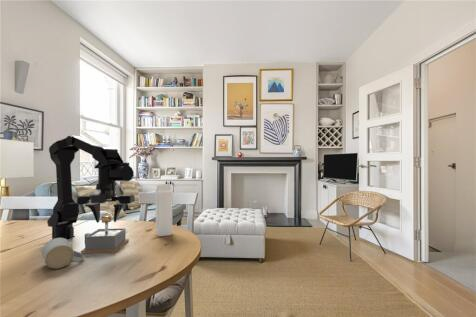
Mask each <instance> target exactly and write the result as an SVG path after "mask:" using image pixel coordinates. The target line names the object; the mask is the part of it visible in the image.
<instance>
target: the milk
mask: <svg viewBox="0 0 476 317" xmlns="http://www.w3.org/2000/svg"><path fill="white" fill-rule="evenodd" d="M155 234H156V236H157V237H159V238H160V237H165V236H166V237H167V236H172V235H173V190H172V184H171V183H168V184H167V183H163V184H157V185H156V190H155Z"/></svg>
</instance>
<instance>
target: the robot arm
mask: <svg viewBox="0 0 476 317" xmlns="http://www.w3.org/2000/svg"><path fill="white" fill-rule="evenodd" d="M80 150H81V151H83V152H85V153H87V154H90V155H91V157H92V159H94V160H95V161H96V162H98V163H96V165H94V169H98V170H97V171H98V172H97V179H98V182H97V183H96V186H95V189H94V190H93V191H92V192H91V193H90V194H82V195H79V196H78V197H77V198H76V201H75V200H74V198H73V187H72V186H73V185H72V183H73V182H72V170H71V169H72V167H71V164H72V163H73V161H74V160H75V159H76V158H75V156H76V154H77V152H79V151H80ZM118 151H119V150H118V149H117V148H116V147H111V146H104V145H100V144H98V143H95V142H92V141H90V140H88V139H86V138H84V137H82V136H80V135H73V134H71V135H68V136H66V137H65V138H63V139H59V140H57V141H55V142H54V143H52V144H51V145H50V146H49V148H48V153H49V156H50V157H49V158H50V159H51V161H52V162H53V163H54V165H55V172H56V174H55V175H56V191H57V200H56V203H55V204H54V206H53V208H52V214H51V216H49V218H48V220H47V221H46V222H47V227H50V228H51V240H52V239H55V238H65V239H67V240H68V241H70V240H72V239H73V238H75V227H74V226H73V224H74V223H75V224H77V221H78V218H79V215H80V208H79V207H80V205H84V206H85V207H88V208H89V209H90V210H91V212H92V214H93V218H94V219H95V222H96V223H99V222H100V220H101V216H100V215H101V204H105V203H106V202H108V203H109V202H112V203H113V202H115V204H113V207H114V208H113V209H114V213H113V222H114V223H116V222H117V221H118V218H119V216H120V213H121V211H122V210H123V208H124V206H125V205H128V204H129V205H130V204H132V203H134V202H135V194H133V193H131V194H130V193H128V194H127V193H125V194H121V195H119V196H117V192H116V186H118V183H117V182H130V181H131V180H133V177H134V169H133V167H132V166H130V162H125V161H124V160H123V159H122V157H121V155H120V153H119V152H118Z"/></svg>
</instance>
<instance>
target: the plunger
mask: <svg viewBox="0 0 476 317" xmlns="http://www.w3.org/2000/svg"><path fill="white" fill-rule="evenodd" d="M111 222H112V215H101V223H103V224H104V229H105V231H99V232H97V233H96V234H94V235H92V236H114V235H116V234H117V233H118V232H120V231H121V230H108V229H109V223H111Z"/></svg>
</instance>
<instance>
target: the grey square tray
mask: <svg viewBox="0 0 476 317" xmlns="http://www.w3.org/2000/svg"><path fill="white" fill-rule="evenodd" d="M108 230H121V231H120V232H118V233H117V234H116V235H114V236H92V235H94V234H96V233H97V232H99V231H105V228H98V229H97V230H95V231H93V232H90V233H89V232H88V233H84V248H83V249H81V250H80V253H82V254H83V255H84V254H105V253H108V254H109V253H118V252H119V251H120V250H121V249H122V248H124V246H126V244H127V243H128V242H129V241H130V239H129V238H126V237H127V236H126V230H127V229H126V228H125V227H124V228H121V227H120V228H108Z"/></svg>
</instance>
